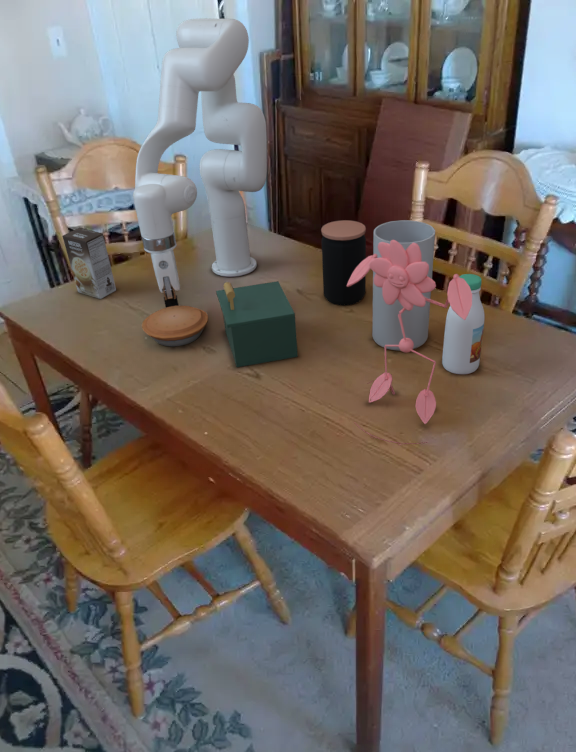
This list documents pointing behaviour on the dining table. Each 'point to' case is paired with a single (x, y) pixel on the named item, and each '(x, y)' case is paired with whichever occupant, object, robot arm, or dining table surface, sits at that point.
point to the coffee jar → (343, 261)
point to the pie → (175, 325)
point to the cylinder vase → (386, 315)
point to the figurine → (408, 305)
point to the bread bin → (263, 341)
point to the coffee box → (89, 262)
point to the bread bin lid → (253, 303)
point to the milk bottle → (464, 333)
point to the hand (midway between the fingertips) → (173, 311)
